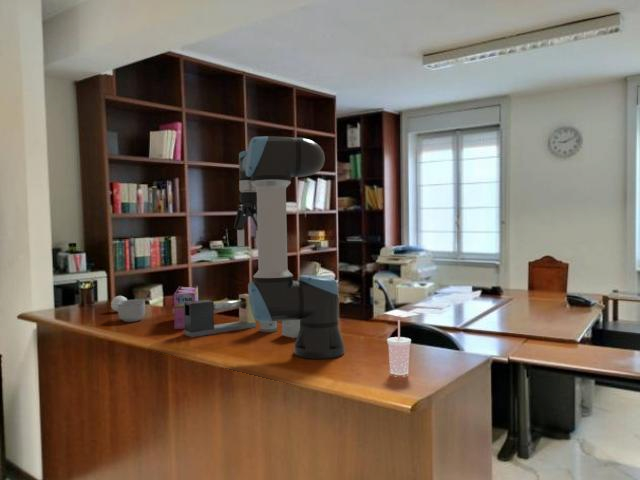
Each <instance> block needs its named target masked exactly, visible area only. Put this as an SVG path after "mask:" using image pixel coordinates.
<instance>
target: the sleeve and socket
mask: <svg viewBox="0 0 640 480" xmlns="http://www.w3.org/2000/svg"><path fill="white" fill-rule="evenodd" d="M241 299H246V307H241V308H238V318H239V319H238V320H239V321H238V322H242V323H245V324H251V323H256V320H255V318H254V316H253V314H252V310H251V306H250V301H249V294H248V293H242V294H241V293H239V294H238V300H241ZM214 303H215V301H214V300H210V299H203V300H201V299H200V300H198V301H192V302H184V319H185V329H184V330H185V331H188V332H197V331H204V330H210V329H214V325H215V311H214Z"/></svg>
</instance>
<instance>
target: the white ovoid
mask: <svg viewBox="0 0 640 480" xmlns="http://www.w3.org/2000/svg"><path fill="white" fill-rule="evenodd" d="M124 300H125V301H126V300H128V298H127V297H125V296H123V295H117V296H114V298H112V300H111V301H110V302H111V303H110V305H111V309H112V310H114V311H115V312H116V313H118V306H117V303H118V302H121V301H124Z"/></svg>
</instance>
